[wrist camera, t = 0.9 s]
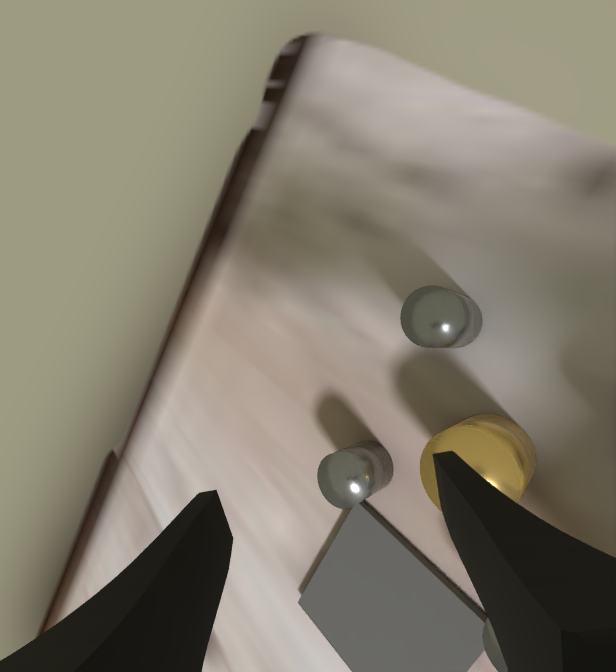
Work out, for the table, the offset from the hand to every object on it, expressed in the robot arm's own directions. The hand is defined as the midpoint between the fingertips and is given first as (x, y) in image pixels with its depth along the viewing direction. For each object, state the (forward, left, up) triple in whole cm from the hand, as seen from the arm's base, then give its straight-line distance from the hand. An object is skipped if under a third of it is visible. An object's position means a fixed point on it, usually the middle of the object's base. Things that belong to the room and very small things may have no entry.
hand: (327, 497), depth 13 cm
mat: (-2, +13, -13) cm, 19 cm away
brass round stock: (-2, 0, -13) cm, 13 cm away
